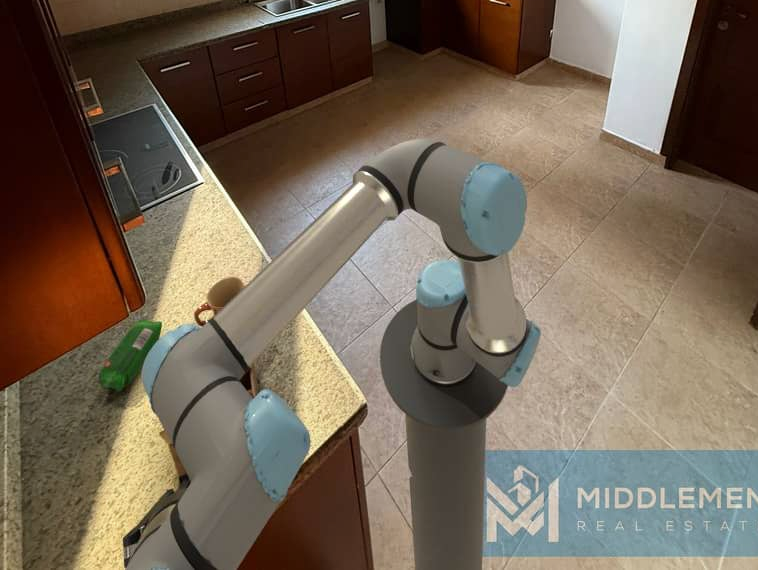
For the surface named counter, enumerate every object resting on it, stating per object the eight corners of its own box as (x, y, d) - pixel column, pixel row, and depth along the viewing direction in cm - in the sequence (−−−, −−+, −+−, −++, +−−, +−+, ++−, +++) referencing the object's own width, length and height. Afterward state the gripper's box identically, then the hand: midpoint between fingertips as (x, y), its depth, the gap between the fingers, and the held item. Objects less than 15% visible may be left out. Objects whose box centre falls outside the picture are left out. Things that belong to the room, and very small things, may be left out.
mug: (244, 300, 114) (238, 271, 111) (255, 325, 107) (249, 294, 104) (196, 327, 107) (188, 297, 104) (205, 355, 100) (196, 323, 97)
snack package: (170, 328, 107) (165, 313, 106) (125, 397, 93) (119, 380, 91) (144, 326, 108) (139, 311, 107) (95, 394, 93) (89, 377, 92)
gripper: (101, 650, 40) (155, 527, 59) (247, 560, 45) (253, 475, 64) (97, 543, 43) (150, 460, 62) (235, 470, 48) (244, 415, 67)
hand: (202, 468), depth 63 cm, fingers closed
